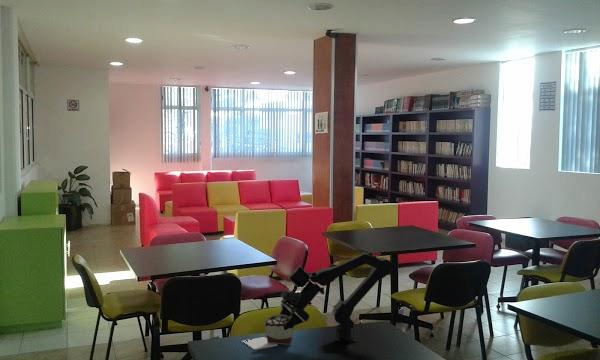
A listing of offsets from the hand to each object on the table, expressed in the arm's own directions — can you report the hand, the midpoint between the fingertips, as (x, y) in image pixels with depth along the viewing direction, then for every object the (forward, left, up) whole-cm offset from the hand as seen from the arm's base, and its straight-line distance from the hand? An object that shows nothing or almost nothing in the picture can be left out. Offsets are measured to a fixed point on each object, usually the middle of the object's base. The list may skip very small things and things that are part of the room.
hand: (280, 326), depth 210 cm
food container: (-2, -4, -6) cm, 8 cm away
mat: (+6, -7, -8) cm, 12 cm away
